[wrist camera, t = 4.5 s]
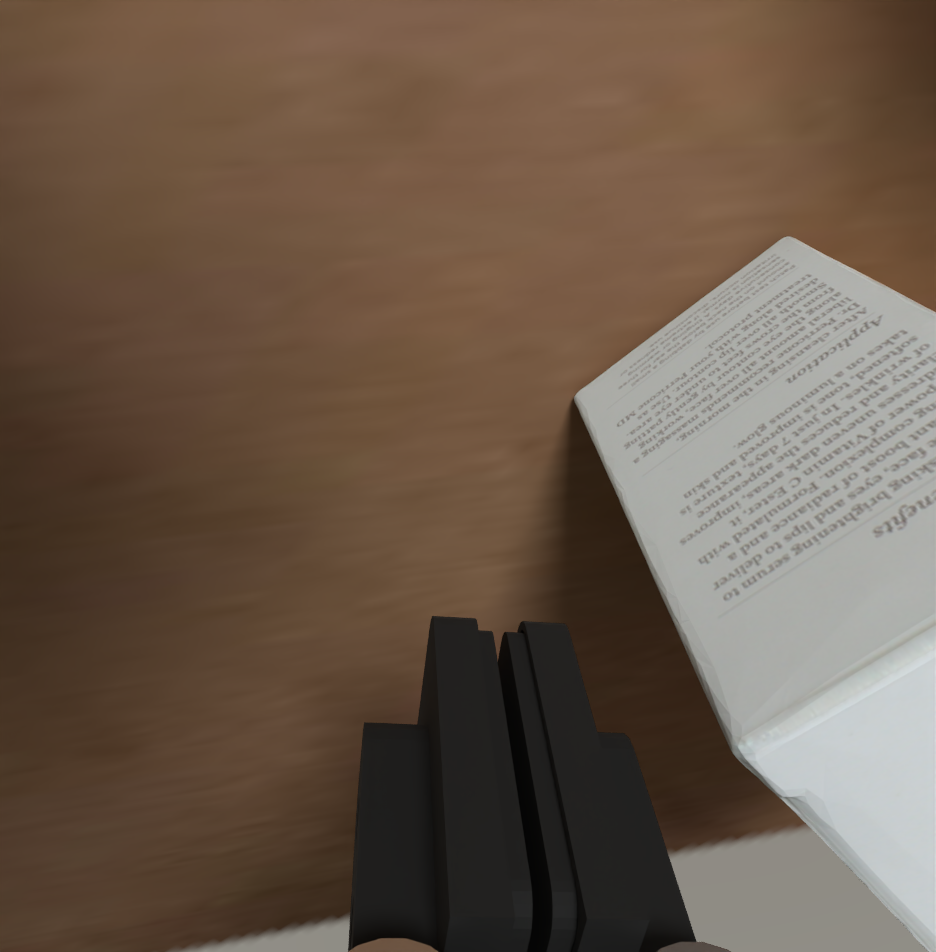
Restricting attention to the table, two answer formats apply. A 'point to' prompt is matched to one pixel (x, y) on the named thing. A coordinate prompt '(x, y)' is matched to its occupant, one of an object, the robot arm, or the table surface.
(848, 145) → the table surface
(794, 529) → the small box
